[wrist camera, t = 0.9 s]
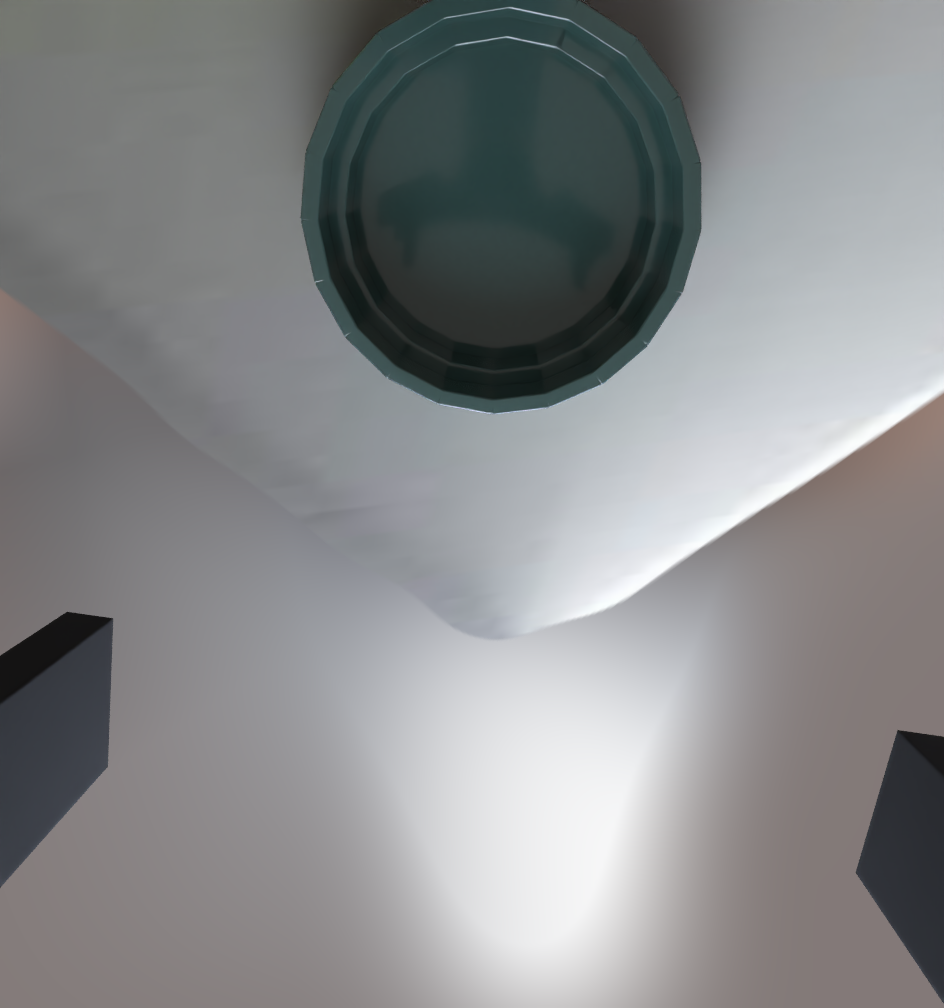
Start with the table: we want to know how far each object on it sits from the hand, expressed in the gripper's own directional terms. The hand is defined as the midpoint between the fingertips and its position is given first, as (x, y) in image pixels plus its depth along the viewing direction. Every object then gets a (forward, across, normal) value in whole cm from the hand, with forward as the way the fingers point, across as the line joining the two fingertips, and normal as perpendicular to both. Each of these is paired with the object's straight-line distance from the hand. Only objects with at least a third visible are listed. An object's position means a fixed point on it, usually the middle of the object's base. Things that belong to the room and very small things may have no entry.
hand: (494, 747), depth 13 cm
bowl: (+24, -2, +12) cm, 27 cm away
